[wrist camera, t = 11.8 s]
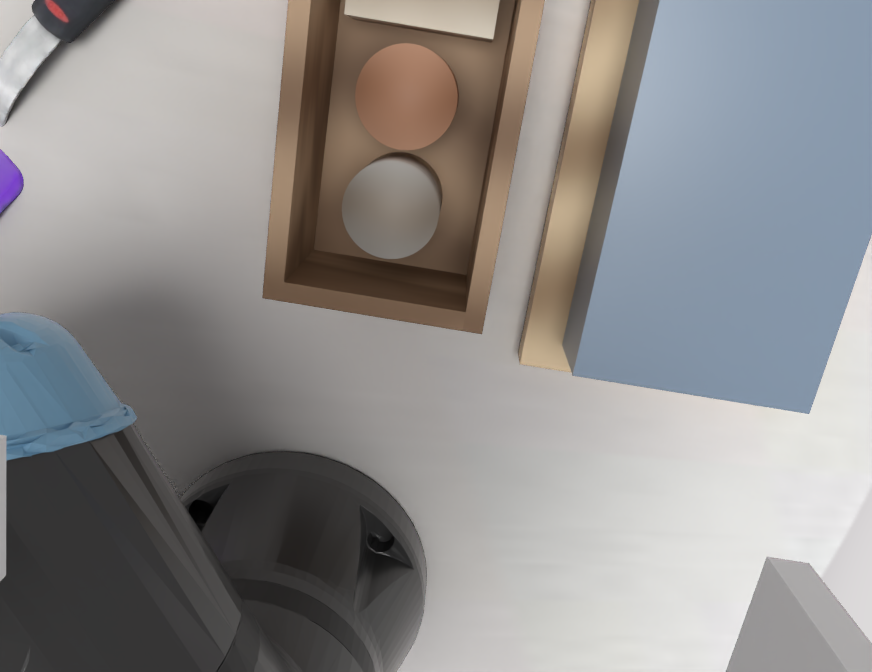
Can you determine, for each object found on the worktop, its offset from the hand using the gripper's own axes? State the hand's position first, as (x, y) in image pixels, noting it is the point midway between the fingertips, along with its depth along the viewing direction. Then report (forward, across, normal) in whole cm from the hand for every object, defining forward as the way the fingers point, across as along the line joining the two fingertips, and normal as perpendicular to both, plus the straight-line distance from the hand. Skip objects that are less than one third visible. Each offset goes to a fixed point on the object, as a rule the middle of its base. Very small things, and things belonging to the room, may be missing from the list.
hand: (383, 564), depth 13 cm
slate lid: (+23, -12, -6) cm, 27 cm away
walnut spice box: (+25, +2, -7) cm, 26 cm away
